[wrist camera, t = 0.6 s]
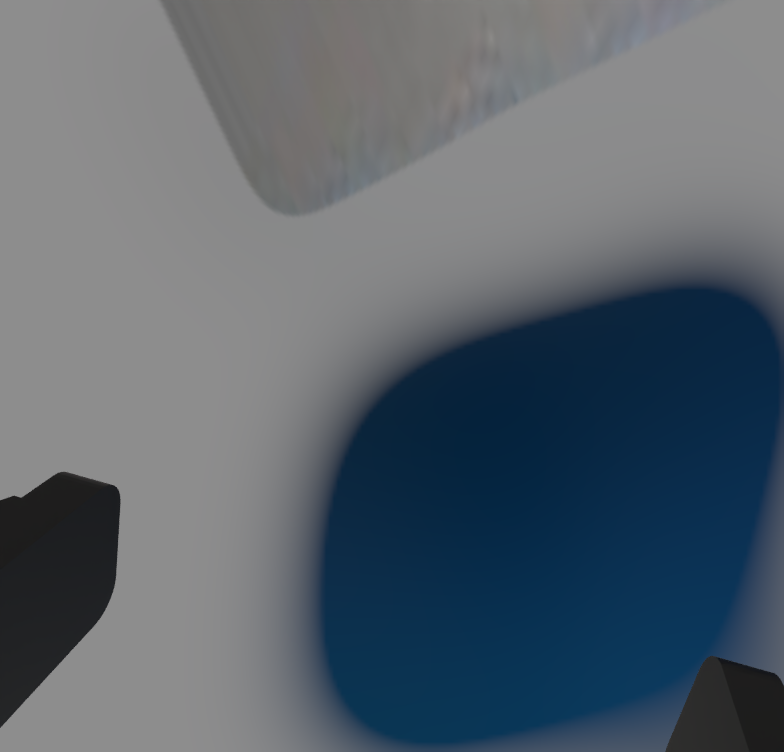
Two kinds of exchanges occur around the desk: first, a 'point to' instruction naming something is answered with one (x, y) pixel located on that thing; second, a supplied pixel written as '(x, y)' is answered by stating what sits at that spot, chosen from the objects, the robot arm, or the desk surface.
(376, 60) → the desk surface
